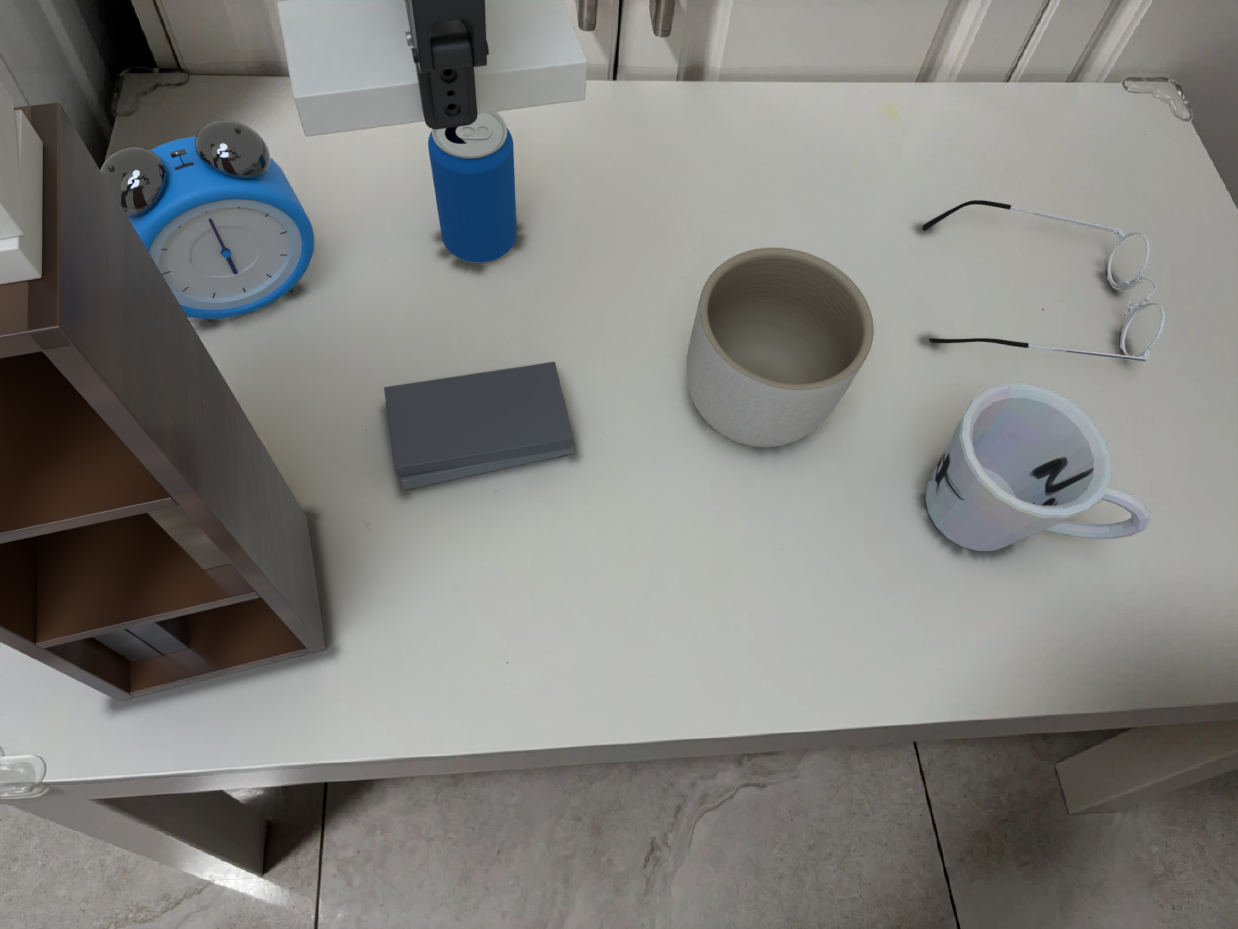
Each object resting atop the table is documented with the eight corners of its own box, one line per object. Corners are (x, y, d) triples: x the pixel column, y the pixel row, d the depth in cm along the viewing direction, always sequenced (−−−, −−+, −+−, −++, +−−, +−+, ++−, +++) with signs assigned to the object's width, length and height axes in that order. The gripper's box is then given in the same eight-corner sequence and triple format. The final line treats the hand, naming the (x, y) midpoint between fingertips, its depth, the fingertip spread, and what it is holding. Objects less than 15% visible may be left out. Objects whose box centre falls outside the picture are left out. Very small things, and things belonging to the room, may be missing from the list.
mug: (926, 428, 70) (982, 358, 61) (1105, 505, 68) (1189, 444, 59) (889, 533, 65) (944, 474, 56) (1080, 620, 63) (1168, 572, 54)
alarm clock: (174, 345, 68) (85, 207, 54) (150, 289, 70) (58, 144, 57) (333, 286, 71) (285, 144, 58) (305, 235, 74) (254, 87, 60)
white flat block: (305, 137, 35) (293, 97, 34) (288, 42, 38) (276, 0, 36) (585, 100, 38) (588, 60, 36) (552, 13, 40) (552, -28, 39)
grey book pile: (402, 495, 63) (396, 476, 61) (385, 408, 66) (378, 387, 64) (576, 456, 66) (578, 437, 63) (552, 375, 69) (552, 354, 66)
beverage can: (442, 212, 76) (426, 99, 66) (515, 211, 77) (511, 99, 66) (442, 269, 73) (425, 160, 63) (518, 268, 74) (514, 160, 63)
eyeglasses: (1142, 388, 73) (1180, 354, 69) (928, 356, 73) (953, 320, 69) (1114, 247, 81) (1147, 208, 76) (920, 217, 81) (942, 177, 76)
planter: (840, 360, 72) (887, 275, 62) (811, 485, 66) (857, 413, 57) (699, 317, 73) (723, 227, 63) (658, 437, 67) (678, 357, 58)
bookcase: (119, 701, 55) (-461, 414, 23) (114, 560, 59) (-381, 153, 27) (326, 650, 58) (60, 326, 26) (307, 518, 62) (59, 100, 30)
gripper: (201, -574, 25) (326, -23, 40) (248, -350, 19) (375, 202, 34) (455, -567, 27) (485, -38, 42) (574, -357, 21) (559, 175, 35)
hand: (436, 68), depth 38 cm, fingers closed on white flat block, 6 cm apart
